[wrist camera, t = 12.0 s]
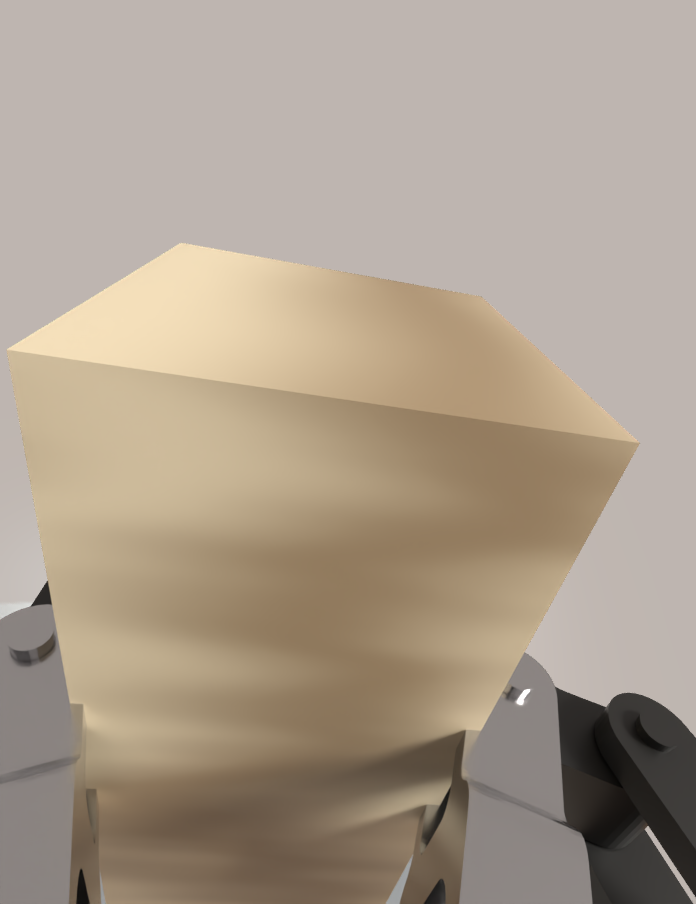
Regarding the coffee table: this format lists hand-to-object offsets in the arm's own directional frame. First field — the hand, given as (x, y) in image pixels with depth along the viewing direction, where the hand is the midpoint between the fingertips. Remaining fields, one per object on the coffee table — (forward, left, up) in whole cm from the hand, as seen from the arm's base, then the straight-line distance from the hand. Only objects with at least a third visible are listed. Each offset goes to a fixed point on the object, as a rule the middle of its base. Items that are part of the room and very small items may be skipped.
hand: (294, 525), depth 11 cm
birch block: (0, -3, -6) cm, 7 cm away
